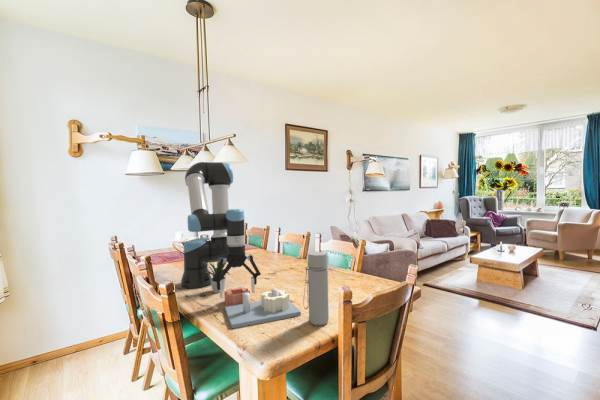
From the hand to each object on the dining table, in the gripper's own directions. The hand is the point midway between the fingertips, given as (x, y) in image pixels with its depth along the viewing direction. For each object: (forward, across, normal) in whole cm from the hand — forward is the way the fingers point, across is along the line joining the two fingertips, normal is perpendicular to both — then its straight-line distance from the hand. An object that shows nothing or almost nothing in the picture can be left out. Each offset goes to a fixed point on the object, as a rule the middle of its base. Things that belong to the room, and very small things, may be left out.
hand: (237, 294), depth 123 cm
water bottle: (+5, +23, -30) cm, 38 cm away
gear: (+4, 0, +1) cm, 4 cm away
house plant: (+4, -7, +19) cm, 21 cm away
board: (+4, +7, -14) cm, 16 cm away
